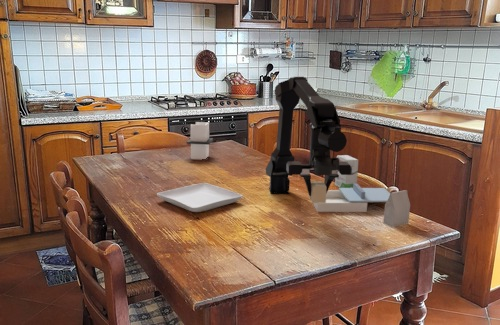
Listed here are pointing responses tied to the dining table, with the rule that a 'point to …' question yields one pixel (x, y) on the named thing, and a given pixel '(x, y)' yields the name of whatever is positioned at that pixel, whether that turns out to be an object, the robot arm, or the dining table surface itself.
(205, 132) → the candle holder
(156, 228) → the dining table surface
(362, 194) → the lid
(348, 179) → the ink box
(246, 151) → the dining table surface
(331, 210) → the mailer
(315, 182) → the block
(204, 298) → the dining table surface
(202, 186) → the salad plate
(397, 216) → the grey tapered upright block
